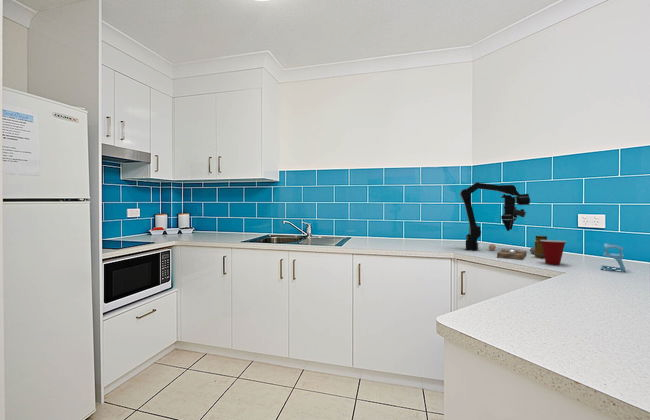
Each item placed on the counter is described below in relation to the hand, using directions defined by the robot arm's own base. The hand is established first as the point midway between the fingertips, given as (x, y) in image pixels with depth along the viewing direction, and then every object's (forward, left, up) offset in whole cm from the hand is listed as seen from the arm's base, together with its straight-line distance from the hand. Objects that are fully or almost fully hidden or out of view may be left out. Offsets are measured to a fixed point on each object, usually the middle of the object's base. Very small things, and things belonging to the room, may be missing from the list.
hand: (509, 230), depth 190 cm
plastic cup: (+23, -29, -13) cm, 39 cm away
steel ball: (+4, -19, -11) cm, 22 cm away
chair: (+45, -30, -13) cm, 56 cm away
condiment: (+18, -14, -13) cm, 26 cm away
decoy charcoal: (+13, -3, -11) cm, 17 cm away
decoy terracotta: (-9, -3, -11) cm, 15 cm away
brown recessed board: (+4, -19, -13) cm, 23 cm away
